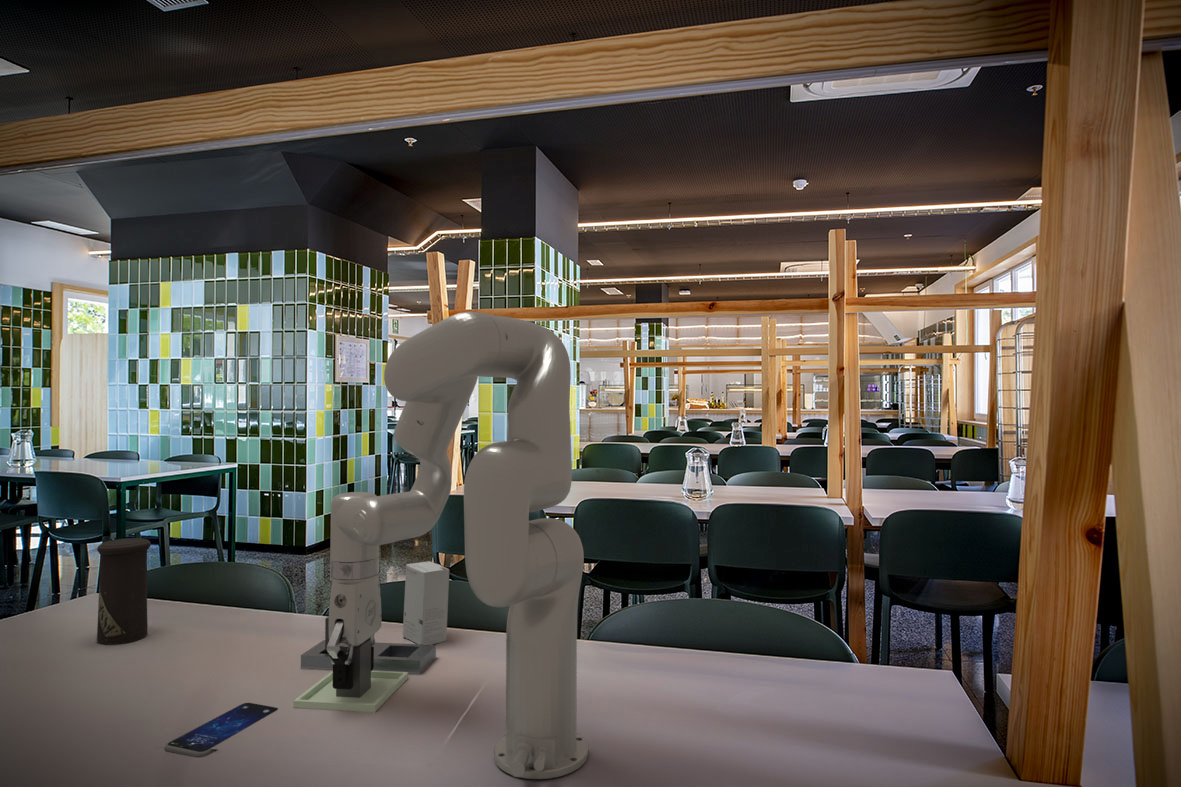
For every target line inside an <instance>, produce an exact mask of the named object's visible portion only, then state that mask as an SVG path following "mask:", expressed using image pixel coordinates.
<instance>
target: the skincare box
mask: <svg viewBox="0 0 1181 787" xmlns="http://www.w3.org/2000/svg"><path fill="white" fill-rule="evenodd" d="M405 566H406V567H405V581H404V582H405V583H404V600H403V601H404V603H403V619H402V620H403V622H402V637H403V638H405V639H406V640H409V641H411V642H412V643H414V644H423V645H436V644H439V643H443V641H444V642H446V641H447V632H448V630H447V629H448V612H449V611H448V610H449V606H448V605H449V590H450V589H449V584H450V569H449V568H447V567H445V566H442V565H441V564H439V563H436V562H432V561H429V560H428V561H421V562H413V563H407V564H405Z"/></svg>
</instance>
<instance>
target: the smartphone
mask: <svg viewBox="0 0 1181 787" xmlns="http://www.w3.org/2000/svg"><path fill="white" fill-rule="evenodd" d="M278 710H279V708H278V707H276V706H271V705H270V706H269V705H264V704H260V703H254V702H244V703H241V704H239V705H237V706H235V707H233V708H232V709H230V710H228V711H226V712H224V713H222V714H220V715H218V716H216V717H214V718H212V719H210V720H209V721H207V722H205V723H202V724H201V725H199V726H197V727H195V728H194V729H192V730H189V731H188V732H186V733H184V734H182V735H180V736H178V737H176V738H175V739H172V740H171V741H169V742H167V743H165V746H164V751H166V752H168V753H175V754H178V755H184V756H188V757H192V758H193V757H195V758H203V757H207V756H209V755H211V754H213V753H215V752H216V751H218V750H219V749H218V748H215V747H217V746H218V745H220V744H221V743H223V742H225V741H227V740H228V739H230V738H231V737H234V736H235V735H237V734H239V733H240V732H242V731H244V730H247V728H249V727H251V726H252V725H254V724H256V723H258V722H259V721H261V720H263V719H265V718H266V717H268V716H270V715H272V714H274V713H275V712H277V711H278Z"/></svg>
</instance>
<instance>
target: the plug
mask: <svg viewBox="0 0 1181 787" xmlns="http://www.w3.org/2000/svg"><path fill="white" fill-rule="evenodd" d="M342 643H348V641H347V639H346V640H345V641H343V642H342ZM340 650H343V652H344V653H345V654H346V652H347V647H340ZM351 663H354V673H353V688H352V689H350V690H349V689H336V697H355V698H360V697H361V696H362V695H363V694H364V693H366V692H367V691H368V690H369V689H370V688H371V639H367V640H366V641H365V642H363V643H362V644H360V645H359V646H354V649H353V654H352V659H351Z"/></svg>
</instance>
